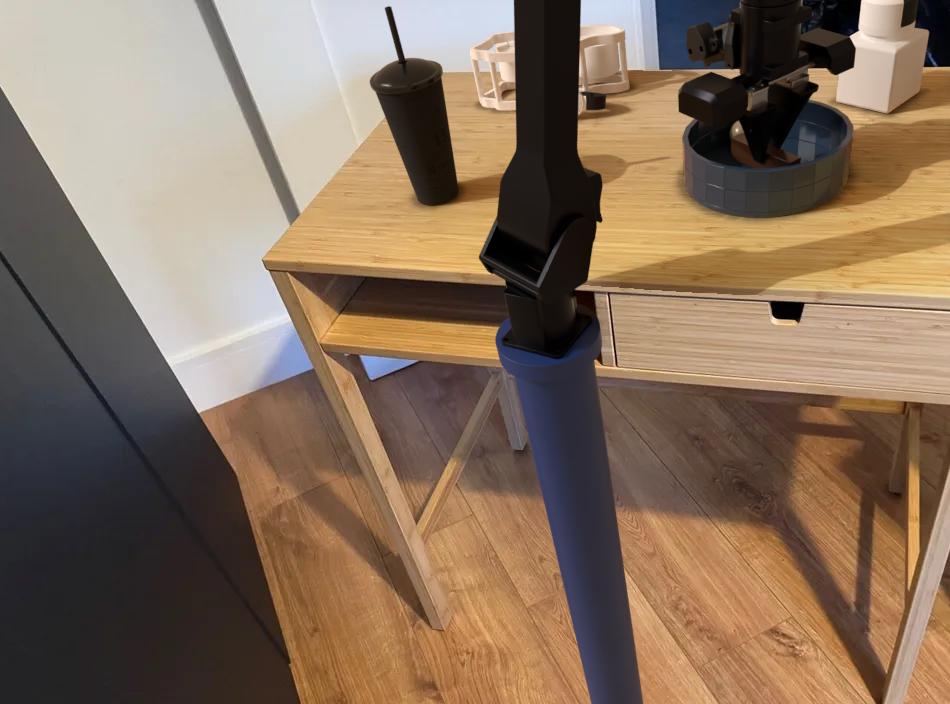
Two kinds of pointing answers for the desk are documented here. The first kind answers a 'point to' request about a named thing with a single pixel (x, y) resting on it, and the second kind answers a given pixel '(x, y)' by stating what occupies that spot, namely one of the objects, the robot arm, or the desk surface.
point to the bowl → (770, 189)
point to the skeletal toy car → (593, 67)
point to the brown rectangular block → (772, 158)
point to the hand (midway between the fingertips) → (765, 158)
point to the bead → (736, 129)
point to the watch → (591, 101)
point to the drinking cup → (418, 121)
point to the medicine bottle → (884, 57)
